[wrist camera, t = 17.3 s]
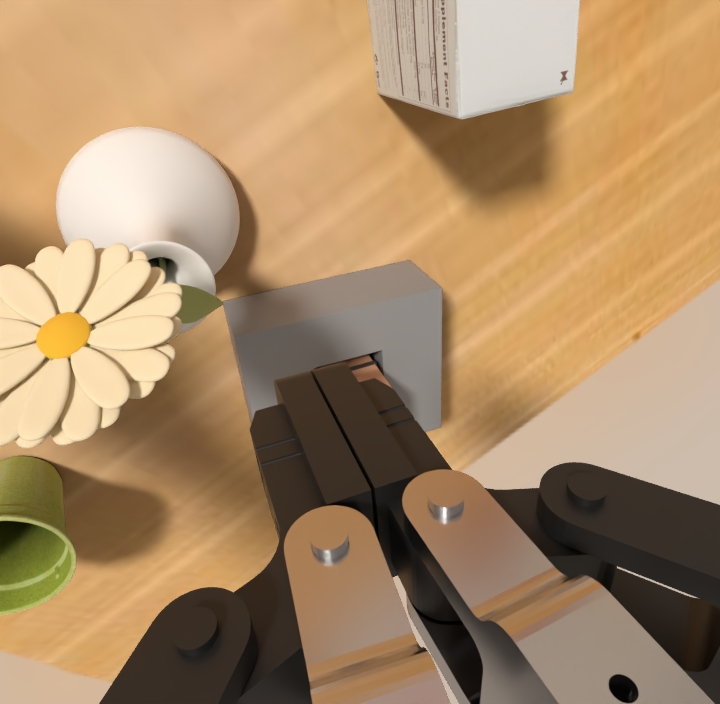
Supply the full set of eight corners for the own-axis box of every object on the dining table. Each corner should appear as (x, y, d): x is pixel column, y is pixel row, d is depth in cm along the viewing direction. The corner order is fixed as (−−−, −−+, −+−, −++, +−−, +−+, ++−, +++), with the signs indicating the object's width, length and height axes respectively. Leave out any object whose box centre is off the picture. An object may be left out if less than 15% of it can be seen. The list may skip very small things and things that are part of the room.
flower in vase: (241, 134, 37) (374, 269, 17) (231, 289, 43) (325, 530, 23) (18, 106, 32) (-154, 249, 12) (38, 285, 38) (-61, 589, 18)
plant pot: (-68, 516, 43) (-105, 611, 36) (-29, 424, 41) (-60, 507, 34) (59, 534, 48) (48, 621, 41) (101, 452, 46) (97, 530, 39)
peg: (313, 383, 49) (350, 456, 41) (306, 343, 46) (344, 412, 38) (358, 370, 50) (402, 438, 42) (353, 331, 47) (399, 395, 39)
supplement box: (462, -45, 37) (591, -68, 27) (465, 77, 41) (577, 97, 31) (360, -29, 35) (454, -48, 25) (373, 96, 39) (459, 124, 29)
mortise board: (254, 436, 50) (267, 480, 46) (222, 301, 43) (234, 337, 38) (413, 390, 54) (440, 427, 50) (409, 259, 47) (442, 287, 42)
